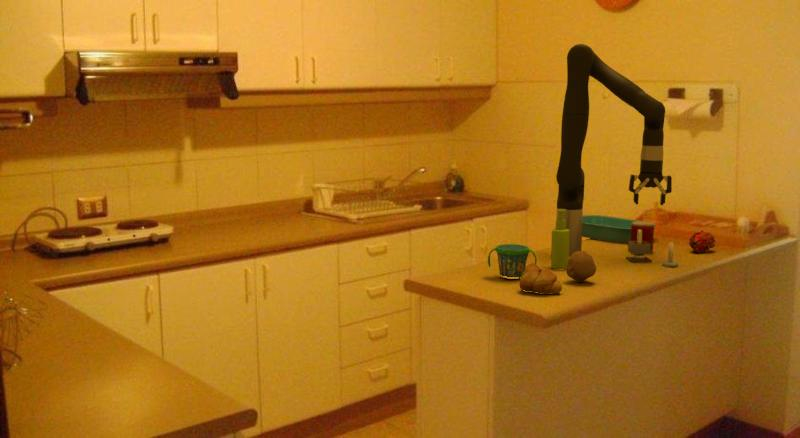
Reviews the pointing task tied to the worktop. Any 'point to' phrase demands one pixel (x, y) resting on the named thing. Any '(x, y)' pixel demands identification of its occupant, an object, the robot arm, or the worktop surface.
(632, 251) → the gray block
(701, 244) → the dragon fruit
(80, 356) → the worktop surface
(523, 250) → the snack cup
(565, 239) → the soap dispenser
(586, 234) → the casserole dish
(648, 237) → the canned food
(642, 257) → the stand
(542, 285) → the bread roll
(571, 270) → the natural sponge
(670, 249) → the hub
